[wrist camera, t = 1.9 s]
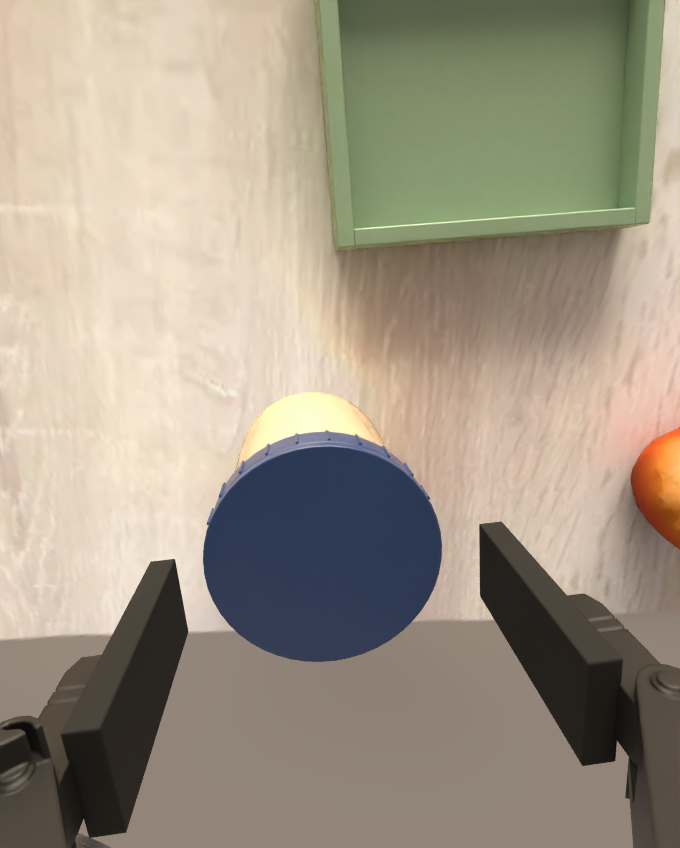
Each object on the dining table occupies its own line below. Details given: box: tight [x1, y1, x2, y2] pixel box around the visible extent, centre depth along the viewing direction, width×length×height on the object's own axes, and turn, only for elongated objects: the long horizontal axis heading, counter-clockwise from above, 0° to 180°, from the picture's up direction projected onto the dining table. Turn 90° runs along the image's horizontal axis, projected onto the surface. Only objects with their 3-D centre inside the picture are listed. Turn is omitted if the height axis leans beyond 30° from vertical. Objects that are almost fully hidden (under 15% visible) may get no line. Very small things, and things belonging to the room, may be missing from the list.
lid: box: [203, 429, 442, 662], centre depth 19 cm, size 9×9×2 cm
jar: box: [234, 392, 389, 472], centre depth 24 cm, size 8×8×10 cm
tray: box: [315, 0, 665, 251], centre depth 24 cm, size 16×14×2 cm
